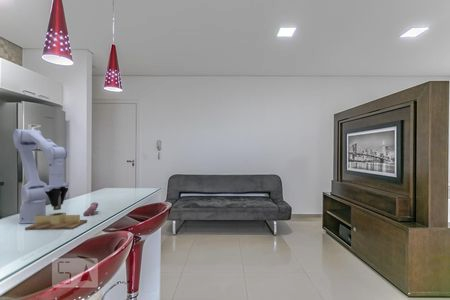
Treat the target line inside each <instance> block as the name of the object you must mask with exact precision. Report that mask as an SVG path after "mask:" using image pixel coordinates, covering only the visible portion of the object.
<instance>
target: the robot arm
mask: <svg viewBox="0 0 450 300" xmlns="http://www.w3.org/2000/svg"><path fill="white" fill-rule="evenodd" d="M12 134H13V135H12V141H13V144H14V148H15V149H17V150H18V152H19V156H20V160H21V163H22V168H23V173H24V176H25V179H26V184H24V185H22V187H21V188H20V190H21V191H20V192H21V201H22V204H21V205H20V207H19V222H18V224H35V216H39V215H47V213H46V211H47V210H46V208H47V207H46V202H47V201H48V200H49V202H50V205H51V207H52V208H53V207H56V206H58V198H59V194H60V192H61V191H62V193H61V206H62V205H63V204H64V201H65V197H66V194H67V193H68V191H69V188H70V182H68V181H67V182H65V181H66V180H65V178H66V177H65V160H66V159H67V157H68V150H67V148H66V147H65V146H59V145H58V144H56V143H55V142H54V141H52V139H50V138H48V139H47V138H45V137H43V134H42V131H41V130H39V129H25V128H24V129H23V128H21V129H20V128H15V130H14V131H13V133H12ZM37 148H39V150H40V151H42V152H43V153H44V154H45V158H46V160H47V161H46V162H47V165H48V184H47V183H46V182H45V181H43V180H41V179H40V175H39V170H38V168H37V163H36V160H35V157H34V156H35V155H34V152H33V150H35V149H37Z"/></svg>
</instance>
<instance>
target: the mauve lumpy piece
mask: <svg viewBox="0 0 450 300" xmlns="http://www.w3.org/2000/svg"><path fill="white" fill-rule="evenodd" d="M98 206H99V203H98V202H97V201H96V202H91V204H90V206H89V207H87V209H86V210H85V211H84V212H83V216H84V217H88V216H90V215H93V214H94V213H95V212H96V211H97V208H98Z"/></svg>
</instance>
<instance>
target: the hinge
mask: <svg viewBox="0 0 450 300" xmlns="http://www.w3.org/2000/svg"><path fill="white" fill-rule="evenodd" d="M80 220H81V215H80V214H67V213H66V212H55V213H51V214H46V215H39V216H35V223H34V224H49V225H50V226H55V225H61V224H78V223H80Z"/></svg>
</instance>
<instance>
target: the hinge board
mask: <svg viewBox="0 0 450 300" xmlns="http://www.w3.org/2000/svg"><path fill="white" fill-rule="evenodd" d="M86 223H88V219H80V223H78V224H61V225H55V226H50V225H49V224H35V223H32V224H31V225H28V226H26V227H24V230H25V231H31V230H32V231H35V230H37V231H40V230H41V231H42V230H43V231H44V230H47V231H48V230H75V229H77V228H78V227H80V226H82V225H84V224H86Z"/></svg>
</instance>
